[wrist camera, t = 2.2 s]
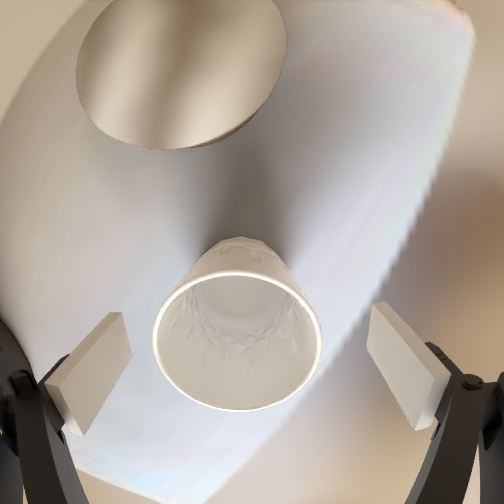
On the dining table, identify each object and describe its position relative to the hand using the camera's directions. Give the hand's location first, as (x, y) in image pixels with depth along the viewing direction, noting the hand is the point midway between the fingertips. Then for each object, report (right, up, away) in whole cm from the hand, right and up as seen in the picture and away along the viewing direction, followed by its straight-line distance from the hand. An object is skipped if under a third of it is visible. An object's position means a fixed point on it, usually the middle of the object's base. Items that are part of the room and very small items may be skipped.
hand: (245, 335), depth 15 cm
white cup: (-1, +2, +8) cm, 9 cm away
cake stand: (-4, +17, +4) cm, 18 cm away
